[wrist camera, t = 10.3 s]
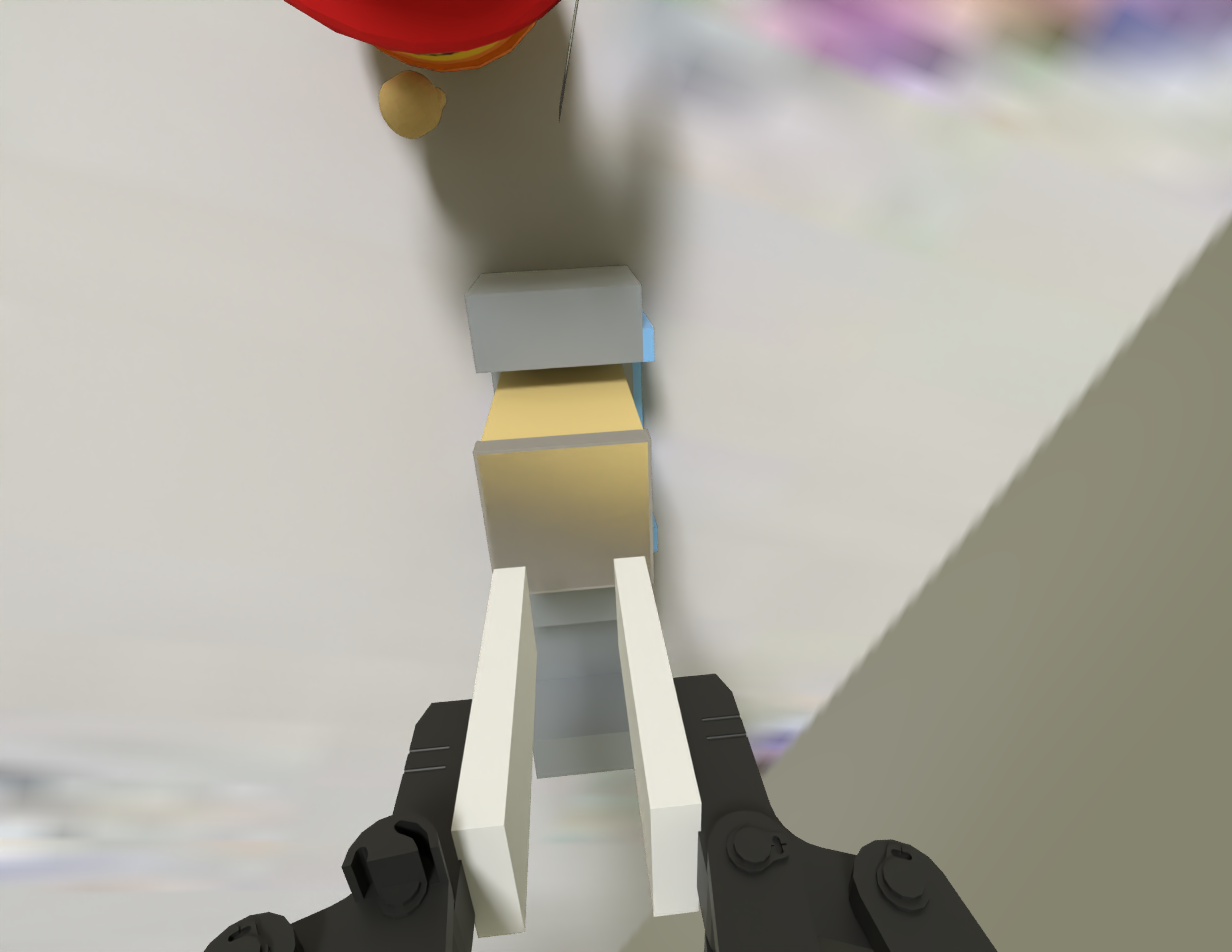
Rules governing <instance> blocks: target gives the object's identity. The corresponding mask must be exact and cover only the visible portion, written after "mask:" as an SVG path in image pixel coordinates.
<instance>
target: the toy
mask: <svg viewBox="0 0 1232 952" xmlns="http://www.w3.org/2000/svg"><path fill="white" fill-rule="evenodd" d="M284 1H285V2H287V3H288V4H290V5H292V6H293V7H295V8H297V9H298V10H300V11H302V12H303V13H305V14H307V15H308V16H310V17H312V18H313V19H315V20H316V21H318V22H320V23H321V24H323V25H325V26H326V27H328V28H330V29H331V30H333V31H335V32H337V33H340V34H343V35H345V36H348V37H351V38H354V39H357V40H360V41H363V42H366V43H369V44H372V45H374V46H375V47H376V48H378V49H379V50H380V51H382V52H384V53H386V54H388V55H390V56H392V57H394V58H396V59H398V60H400V61H402V62H404V63H406V64H408V65H411V66H416V67H420V68H425V69H429V70H434V71H438V72H451V71H460V70H470V69H478V68H480V67H482V66H484V65H486V64H488V63H490V62H492V61H494V60H496V59H498V58H500V57H502V56H504V55H506V54H508V53H510V52H511V51H512V50H513V49H514V47H515V46H516V45H517V44H518V43H519V42H520V41H521V40H522V39H523V38H524V36H525V35H526V34H527V33H528V32H529V31H530V30H531V29H532V28H533V26H534V25H535V24H536V21H537V20H539V19H540V18H542V17H543V16H544V15H545V14H546V13H548V12H549V11H550V10H551V9H552V8H553V7H554V6H555V5H557V4H558V3H559V2H560V1H561V0H284ZM578 1H579V0H576V4H575V10H574V17H573V23H572V29H571V36H570V42H569V49H568V55H567V61H566V68H565V74H564V80H563V87H562V93H561V100H560V109H559V121H560V115H561V108H562V102H563V96H564V89H565V83H566V77H567V70H568V64H569V58H570V51H571V45H572V39H573V32H574V26H575V20H576V13H577V7H578ZM446 101H447V100H446V96H445V93H444V92H443V91H442V90H441V89H440V88H437V87H434V86H433V84H432V83H431V82H430V81H429V80H428V79H427V78H426V77H425V76H423V75H422V74H420V73H417V72H414V71H410V70H409V71H403V72H401V73H399V74H398V75H396V76H394V77H393V78H391V79H390V80H388V81H386V82H385V83H384V84H383V86H382V87H381V89H380V93H379V106H380V110H381V113H382V116H383V118H384V120H385V121H386V123H387V124H388V126H389V127H390V128H391V129H392V130H393V131H395V132H396V133H397V134H399V135H400V136H403V137H406V138H410V139H415V138H419V137H421V136H423V135H425V134H426V133H428V132H429V131H431V130H433V129H434V128H435V127H436V126H437V125H438V123H439V121H440V118H441V112H442V109H443V107H444V106H445V104H446Z"/></svg>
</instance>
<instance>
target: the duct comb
mask: <svg viewBox="0 0 1232 952" xmlns="http://www.w3.org/2000/svg"><path fill="white" fill-rule="evenodd" d="M465 302H466V309H467V315H468V322H469V329H470V335H471V342H472V349H473V355H474V362H475V369H476V373H487V372H491V373H492V380H493V387H494V395H495V391H496V388H497V384H498V381H499V377H500V374H501V372H502V371H517V370H532V369H546V368H561V367H576V366H591V365H605V364H620V363H621V365H622V368H623V371H624V374H625V377H626V380H627V383H628V386H629V389H630V392H631V395H632V398H633V401H634V404H635V407H636V409H637V412H638V415H639V418H640V421H641V424H642V427H643V412H642V375H641V362H650V361H654V327H653V326H652V324H651V323H650V321H649V320H648V318H647V316H646V315H645V313H644V312H643V310H642V285H641V283H640V282H639V281H638V280H637V278H636V277H635V276H634V275H633V273H632V272H631V271H630V269H629V268H628V267H627V266H626V265H622V266H605V267H588V268H571V269H554V270H537V271H520V272H503V273H486V274H481V275H480V276H479V278H478V279H477V280H476V282H475V283H474V284H473V285H472V287H471V288H470V289H469V290H468V292H467V293H466V294H465ZM652 512H653V510H652ZM653 552H658V536H657V524H656V521H655V517H654V514H653ZM529 597H530V605H531V612H532V620H533V627H534V635H535V642H536V650H537V665H536V688H535V711H534V734H533V755H534V761H535V768H536V775H537V779H539V778H548V777H558V776H567V775H576V774H586V773H595V772H605V771H614V770H624V769H633V768H634V761H633V754H632V746H631V738H630V730H629V723H628V715H627V707H626V700H625V692H624V684H623V677H622V669H621V661H620V654H619V646H618V628H617V610H616V592H615V587H607V588H596V589H584V590H573V591H562V592H551V593H539V594H529Z"/></svg>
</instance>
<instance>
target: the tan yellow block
mask: <svg viewBox="0 0 1232 952" xmlns="http://www.w3.org/2000/svg"><path fill="white" fill-rule="evenodd" d="M473 456H474V462H475V468H476V474H477V480H478V487H479V493H480V499H481V505H482V511H483V517H484V524H485V530H486V536H487V542H488V548H489V554H490V561H491V567H492V573H493V571H494V569H501V568H513V567H524V566H525V567H526V574H527V582H528V589H529V594H539V593H551V592H562V591H573V590H584V589H596V588H607V587H615V574H614V559H617V558H629V557H641V556H645V560H646V564H647V569H648V573H649V577H650V582H651V584H652V583H654V559H653V512H652V466H651V438H650V435H649V432H648V429H643V427H642V424H641V421H640V418H639V415H638V412H637V409H636V407H635V404H634V401H633V398H632V395H631V392H630V389H629V386H628V383H627V380H626V377H625V374H624V371H623V368H622V365H621V363H620V364H605V365H591V366H576V367H561V368H546V369H532V370H517V371H502V372H501V374H500V377H499V381H498V384H497V388H496V391H495V395H494V398H493V402H492V405H491V408H490V412H489V415H488V419H487V422H486V426H485V429H484V432H483V436H482V439H481V441H477V442H476V444H475V447H474V450H473Z"/></svg>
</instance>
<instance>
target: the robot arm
mask: <svg viewBox="0 0 1232 952" xmlns="http://www.w3.org/2000/svg"><path fill="white" fill-rule="evenodd" d="M614 574H615V592H616V610H617V628H618V646H619V654H620V661H621V669H622V677H623V684H624V692H625V700H626V707H627V715H628V723H629V730H630V738H631V746H632V754H633V761H634V769H635V777H636V784H637V792H638V800H639V807H640V815H641V823H642V831H643V838H644V846H645V854H646V861H647V869H648V877H649V884H650V892H651V900H652V907H653V915H654V917H656V916H665V915H673V914H681V913H690V912H698V911H699V901H700V906H701V911H702V917H703V922H704V927H705V950H704V952H997V950H996V949H995V948H994V946H993V945H992V943H991V942H990V940H989V939H988V937H987V936H986V934H985V933H984V932H983V930H982V929H981V927H980V926H979V924H978V923H977V921H976V920H975V918H974V917H973V916H972V914H971V913H970V911H969V910H968V908H967V907H966V905H965V904H964V903H963V901H962V900H961V898H960V897H959V896H958V894H957V892H956V891H955V889H954V888H953V887H952V885H951V884H950V882H949V881H948V879H947V878H946V876H945V875H944V874H943V872H942V871H941V870H940V869H939V868H938V867H937V866H936V865H935V864H934V862H933V861H932V860H931V859H930V858H929V857H928V856H926V855H925V854H923V853H922V852H920V851H919V850H917V849H916V848H914V847H912V846H911V845H908V844H905V843H901V842H898V841H895V840H875V841H873V842H871V843H869V844H867V845H866V846H864V847H862V848H861V850H860V851H859V853H858V855H853V854H848V853H844V852H839V851H834V850H830V849H825V848H821V847H818V846H815V845H812V844H809V843H807V842H805V841H803V840H801V839H800V838H798V837H796V836H795V835H793V834H792V833H791V832H790V831H789V830H788V829H786V828H785V827H784V826H783V825H782V823H781V822H780V821H779V819H778V818H777V817H776V816H775V813H774V811H773V809H772V807H771V805H770V802H769V800H768V797H767V794H766V791H765V788H764V785H763V782H762V779H761V776H760V773H759V770H758V767H757V764H756V761H755V758H754V755H753V752H752V749H751V746H750V743H749V741H748V738H747V737H746V732H745V729H744V726H743V723H742V720H741V718H740V714H739V711H738V708H737V705H736V702H735V699H734V696H733V693H732V691H731V690H730V689H729V688H728V687H727V686H726V685H725V684H724V683H723V681H722V680H721V679H720V678H719V677H718V676H717V675H716V674H709V675H698V676H688V677H678V678H673V677H672V673H671V669H670V664H669V660H668V656H667V651H666V647H665V642H664V638H663V634H662V629H661V625H660V621H659V616H658V612H657V608H656V603H655V599H654V595H653V590H652V586H651V582H650V577H649V573H648V569H647V564H646V560H645V556H641V557H629V558H617V559H614ZM536 665H537V650H536V642H535V635H534V627H533V620H532V612H531V605H530V597H529V589H528V582H527V574H526V567H525V566H524V567H513V568H501V569H494V571H493V577H492V583H491V589H490V595H489V601H488V607H487V613H486V620H485V626H484V632H483V638H482V644H481V650H480V656H479V662H478V669H477V675H476V681H475V687H474V693H473V699H469V700H459V701H448V702H438V703H431V705H430V706H429V708H428V709H427V710H426V712H425V713H424V714H423V716H422V717H421V719H420V720H419V721H418V723H417V724H416V726H415V730H414V734H413V738H412V742H411V745H410V753H409V754H408V757H407V761H406V765H405V769H404V770H405V772H404V774H403V776H402V780H401V784H400V788H399V792H398V796H397V799H396V803H395V807H394V811H393V815H392V816H389V817H386V818H383V819H381V820H378V821H377V822H376V823H374V824H373V825H371V826H370V827H369V828H367V829H366V830H365V831H363V832H362V833H361V834H360V835H359V837H358V838H357V839H356V840H355V842H354V843H353V844H352V845H351V847H350V848H349V850H348V852H347V855H346V857H345V860H344V862H343V865H342V869H343V872H344V874H345V877H346V880H347V882H348V885H349V887H350V890H351V892H352V894H350V895H349V896H348V897H347V898H345V899H343V900H341V901H339V902H338V903H336V904H334V905H332V906H330V907H328V908H326V909H323V910H321V911H319V912H317V913H314V914H312V915H310V916H308V917H305V918H303V919H301V920H299V921H296V922H294V923H292V924H290V923H289V922H288V921H287V919H286V918H285V917H284V916H281V915H277V914H274V913H270V912H267V913H261V914H256V915H250V916H248V917H246V918H244V919H242V920H240V921H238V922H236V923H235V924H233V925H231V926H229V927H228V928H227V929H226V930H224V931H223V932H222V933H221V934H220V935H219V936H218V937H216V938H215V939H214V940H213V941H212V942H211V943H210V944H209V945H208V946H207V948H206V949H205V951H204V952H471V949H472V940H473V931H474V923H475V927H476V931H477V935H478V938H481V937H490V936H498V935H506V934H515V933H523V932H525V918H526V895H527V872H528V849H529V826H530V803H531V780H532V757H533V734H534V711H535V688H536Z"/></svg>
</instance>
